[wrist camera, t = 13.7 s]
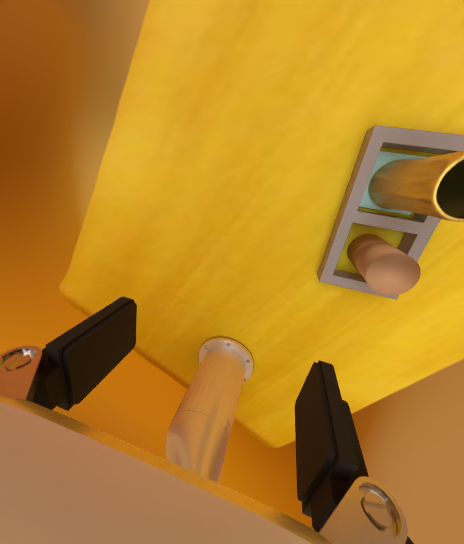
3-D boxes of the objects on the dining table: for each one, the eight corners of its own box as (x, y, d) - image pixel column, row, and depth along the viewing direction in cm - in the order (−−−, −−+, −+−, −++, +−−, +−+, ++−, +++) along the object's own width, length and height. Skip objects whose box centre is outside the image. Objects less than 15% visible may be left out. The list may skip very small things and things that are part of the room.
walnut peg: (376, 268, 33) (406, 300, 24) (342, 261, 34) (360, 289, 25) (390, 237, 31) (430, 259, 22) (354, 231, 32) (378, 249, 23)
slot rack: (388, 290, 34) (396, 299, 31) (317, 274, 36) (319, 281, 33) (465, 142, 26) (485, 137, 23) (366, 131, 27) (375, 125, 25)
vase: (430, 160, 27) (555, 140, 14) (411, 210, 29) (502, 232, 17) (376, 158, 28) (446, 137, 15) (362, 206, 31) (412, 223, 18)
